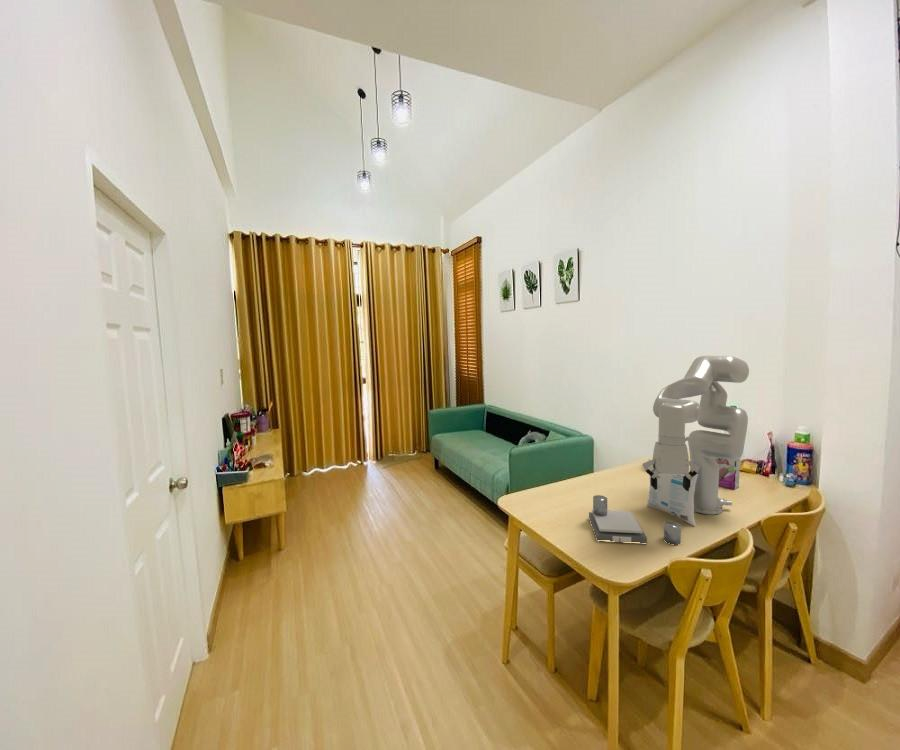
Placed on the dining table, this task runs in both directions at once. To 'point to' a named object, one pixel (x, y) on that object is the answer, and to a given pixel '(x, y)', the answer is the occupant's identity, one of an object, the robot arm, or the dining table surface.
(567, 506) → the dining table surface
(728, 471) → the candy bar box
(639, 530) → the scale
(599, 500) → the cylinder
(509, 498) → the dining table surface
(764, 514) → the dining table surface
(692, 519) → the pouch
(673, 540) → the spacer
